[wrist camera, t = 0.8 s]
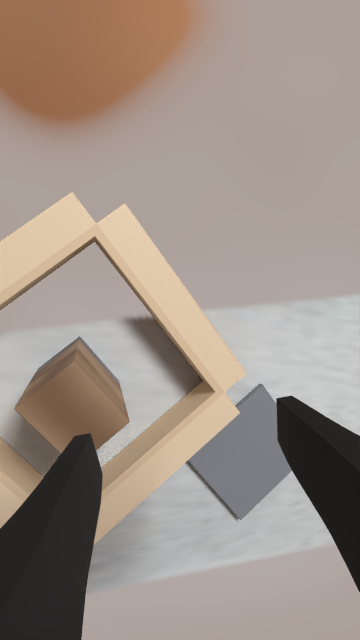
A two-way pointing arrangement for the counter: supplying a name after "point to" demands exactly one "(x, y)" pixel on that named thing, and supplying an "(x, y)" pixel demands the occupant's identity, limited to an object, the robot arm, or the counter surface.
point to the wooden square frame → (172, 315)
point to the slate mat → (245, 455)
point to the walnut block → (74, 398)
